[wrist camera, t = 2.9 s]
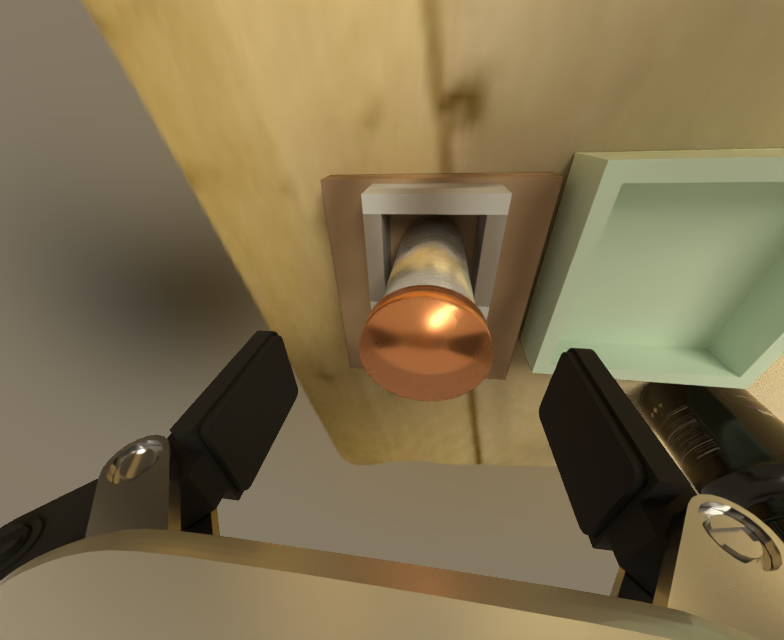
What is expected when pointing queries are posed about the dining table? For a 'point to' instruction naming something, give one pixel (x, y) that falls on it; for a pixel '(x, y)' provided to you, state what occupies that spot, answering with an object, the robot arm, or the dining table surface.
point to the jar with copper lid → (428, 319)
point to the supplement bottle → (723, 444)
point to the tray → (666, 267)
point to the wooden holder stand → (478, 229)
